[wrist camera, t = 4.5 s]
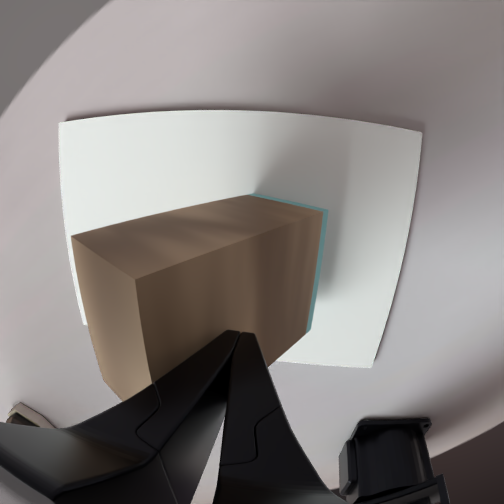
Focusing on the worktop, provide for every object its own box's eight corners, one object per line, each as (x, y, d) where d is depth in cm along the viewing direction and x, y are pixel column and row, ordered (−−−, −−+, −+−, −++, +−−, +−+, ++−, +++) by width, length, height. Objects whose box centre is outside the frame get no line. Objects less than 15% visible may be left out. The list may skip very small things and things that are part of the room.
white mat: (418, 132, 13) (422, 132, 13) (369, 363, 18) (371, 367, 18) (63, 122, 16) (58, 122, 15) (86, 320, 21) (83, 324, 20)
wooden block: (328, 209, 13) (134, 279, 6) (310, 329, 15) (166, 443, 8) (253, 193, 15) (70, 235, 9) (247, 302, 17) (103, 380, 11)
